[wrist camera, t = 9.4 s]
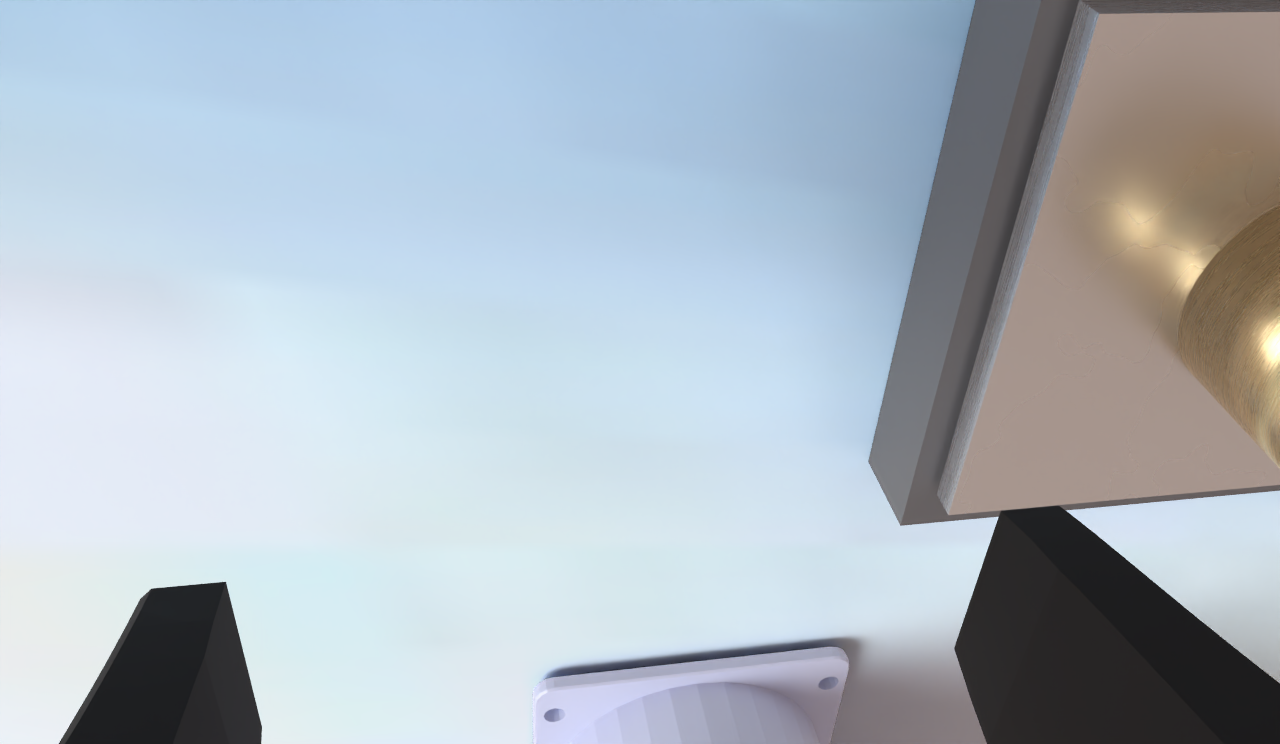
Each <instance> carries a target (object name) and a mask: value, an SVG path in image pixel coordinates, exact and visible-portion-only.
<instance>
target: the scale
mask: <svg viewBox="0 0 1280 744" xmlns="http://www.w3.org/2000/svg"><path fill="white" fill-rule="evenodd" d="M1078 3H1079V0H976V1H975V6H974V10H973V14H972V19H971V23H970V27H969V32H968V36H967V40H966V44H965V49H964V53H963V57H962V62H961V66H960V70H959V75H958V79H957V83H956V87H955V92H954V96H953V100H952V105H951V109H950V113H949V118H948V122H947V126H946V130H945V135H944V139H943V143H942V148H941V152H940V156H939V161H938V165H937V169H936V173H935V178H934V182H933V186H932V191H931V195H930V199H929V204H928V208H927V212H926V216H925V221H924V225H923V229H922V234H921V238H920V242H919V246H918V251H917V255H916V259H915V264H914V268H913V272H912V277H911V281H910V285H909V289H908V294H907V298H906V302H905V307H904V311H903V315H902V320H901V324H900V328H899V332H898V337H897V341H896V345H895V350H894V354H893V358H892V363H891V367H890V371H889V375H888V380H887V384H886V388H885V393H884V397H883V401H882V406H881V410H880V414H879V418H878V423H877V427H876V431H875V436H874V440H873V444H872V449H871V453H870V457H869V461H868V462H869V464H870V466H871V468H872V470H873V472H874V474H875V476H876V478H877V480H878V482H879V484H880V486H881V488H882V490H883V492H884V494H885V496H886V498H887V500H888V502H889V504H890V506H891V508H892V509H893V511H894V513H895V515H896V517H897V519H898V521H899V523H900V525H912V524H923V523H934V522H944V521H955V520H966V519H977V518H987V517H998V516H999V515H1000V512H1001V511H1004V510H1000V511H989V512H978V513H967V514H956V515H948V514H947V512H946V510H945V508H944V506H943V505H942V503H941V501H940V499H939V497H938V496H937V492H938V488H939V485H940V481H941V478H942V475H943V471H944V468H945V464H946V461H947V457H948V454H949V450H950V447H951V443H952V440H953V436H954V433H955V429H956V426H957V422H958V419H959V416H960V412H961V409H962V405H963V402H964V398H965V395H966V391H967V388H968V384H969V381H970V377H971V374H972V370H973V367H974V363H975V360H976V357H977V353H978V350H979V346H980V343H981V339H982V336H983V332H984V329H985V325H986V322H987V318H988V315H989V311H990V308H991V304H992V301H993V298H994V294H995V291H996V287H997V284H998V280H999V277H1000V273H1001V270H1002V266H1003V263H1004V259H1005V256H1006V252H1007V249H1008V245H1009V242H1010V239H1011V235H1012V232H1013V228H1014V225H1015V221H1016V218H1017V214H1018V211H1019V207H1020V204H1021V200H1022V197H1023V193H1024V190H1025V186H1026V183H1027V180H1028V176H1029V173H1030V169H1031V166H1032V162H1033V159H1034V155H1035V152H1036V148H1037V145H1038V141H1039V138H1040V134H1041V131H1042V128H1043V124H1044V121H1045V117H1046V114H1047V110H1048V107H1049V103H1050V100H1051V96H1052V93H1053V89H1054V86H1055V82H1056V79H1057V75H1058V72H1059V69H1060V65H1061V62H1062V58H1063V55H1064V51H1065V48H1066V44H1067V41H1068V37H1069V34H1070V30H1071V27H1072V23H1073V20H1074V16H1075V13H1076V10H1077V6H1078ZM1279 490H1280V485H1272V486H1261V487H1251V488H1240V489H1229V490H1218V491H1207V492H1196V493H1185V494H1174V495H1163V496H1152V497H1142V498H1131V499H1120V500H1109V501H1098V502H1087V503H1076V504H1065V505H1059V506H1060V507H1062V508H1063V509H1064V510H1074V509H1085V508H1095V507H1106V506H1117V505H1128V504H1139V503H1149V502H1160V501H1171V500H1182V499H1193V498H1203V497H1214V496H1225V495H1236V494H1247V493H1257V492H1268V491H1279ZM1054 506H1058V505H1054ZM1043 507H1047V506H1043ZM1032 508H1036V507H1032ZM1022 509H1026V508H1022ZM1011 510H1015V509H1011Z"/></svg>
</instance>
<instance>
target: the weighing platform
mask: <svg viewBox="0 0 1280 744" xmlns="http://www.w3.org/2000/svg"><path fill="white" fill-rule="evenodd" d="M1278 206H1280V0H1079V3H1078V6H1077V10H1076V13H1075V16H1074V20H1073V23H1072V27H1071V30H1070V34H1069V37H1068V41H1067V44H1066V48H1065V51H1064V55H1063V58H1062V62H1061V65H1060V69H1059V72H1058V75H1057V79H1056V82H1055V86H1054V89H1053V93H1052V96H1051V100H1050V103H1049V107H1048V110H1047V114H1046V117H1045V121H1044V124H1043V128H1042V131H1041V134H1040V138H1039V141H1038V145H1037V148H1036V152H1035V155H1034V159H1033V162H1032V166H1031V169H1030V173H1029V176H1028V180H1027V183H1026V186H1025V190H1024V193H1023V197H1022V200H1021V204H1020V207H1019V211H1018V214H1017V218H1016V221H1015V225H1014V228H1013V232H1012V235H1011V239H1010V242H1009V245H1008V249H1007V252H1006V256H1005V259H1004V263H1003V266H1002V270H1001V273H1000V277H999V280H998V284H997V287H996V291H995V294H994V298H993V301H992V304H991V308H990V311H989V315H988V318H987V322H986V325H985V329H984V332H983V336H982V339H981V343H980V346H979V350H978V353H977V357H976V360H975V363H974V367H973V370H972V374H971V377H970V381H969V384H968V388H967V391H966V395H965V398H964V402H963V405H962V409H961V412H960V416H959V419H958V422H957V426H956V429H955V433H954V436H953V440H952V443H951V447H950V450H949V454H948V457H947V461H946V464H945V468H944V471H943V475H942V478H941V481H940V485H939V488H938V492H937V496H938V497H939V499H940V501H941V503H942V505H943V506H944V508H945V510H946V512H947V514H948V515H956V514H967V513H978V512H989V511H1000V510H1011V509H1022V508H1032V507H1043V506H1054V505H1065V504H1076V503H1087V502H1098V501H1109V500H1120V499H1131V498H1142V497H1152V496H1163V495H1174V494H1185V493H1196V492H1207V491H1218V490H1229V489H1240V488H1251V487H1261V486H1272V485H1280V469H1279V468H1278V466H1277V465H1276V464H1275V463H1274V462H1273V461H1272V460H1271V459H1270V458H1269V457H1268V456H1267V455H1266V454H1265V452H1264V451H1263V450H1262V449H1261V448H1260V447H1259V446H1258V445H1257V444H1256V443H1255V442H1254V441H1253V440H1252V438H1251V437H1250V436H1249V435H1248V434H1247V433H1246V432H1245V431H1244V430H1243V429H1242V428H1241V427H1240V426H1239V424H1238V423H1237V422H1236V421H1235V420H1234V419H1233V418H1232V417H1231V416H1230V415H1229V414H1228V413H1227V412H1226V410H1225V409H1224V408H1223V407H1222V406H1221V405H1220V404H1219V403H1218V402H1217V401H1216V400H1215V399H1214V398H1213V396H1212V395H1211V394H1210V393H1209V392H1208V391H1207V390H1206V389H1205V388H1204V387H1203V386H1202V385H1201V384H1200V382H1199V381H1198V380H1197V379H1196V378H1195V377H1194V376H1193V375H1192V374H1191V373H1190V371H1189V370H1188V369H1187V367H1186V366H1185V364H1184V362H1183V360H1182V358H1181V355H1180V351H1179V347H1178V328H1179V321H1180V317H1181V313H1182V310H1183V307H1184V304H1185V302H1186V299H1187V297H1188V295H1189V293H1190V291H1191V289H1192V287H1193V286H1194V284H1195V282H1196V280H1197V279H1198V277H1199V276H1200V274H1201V273H1202V271H1203V270H1204V268H1205V267H1206V266H1207V265H1208V264H1209V262H1210V261H1211V260H1212V259H1213V257H1214V256H1215V255H1216V254H1217V253H1218V252H1219V251H1220V250H1221V249H1222V248H1223V247H1224V246H1225V245H1226V244H1227V243H1228V242H1229V241H1230V240H1231V239H1232V238H1233V237H1234V236H1236V235H1237V234H1238V233H1239V232H1240V231H1241V230H1242V229H1244V228H1245V227H1247V226H1248V225H1249V224H1251V223H1252V222H1253V221H1255V220H1256V219H1257V218H1259V217H1261V216H1262V215H1264V214H1265V213H1267V212H1269V211H1270V210H1272V209H1274V208H1276V207H1278Z"/></svg>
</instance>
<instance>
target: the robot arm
mask: <svg viewBox="0 0 1280 744" xmlns="http://www.w3.org/2000/svg"><path fill="white" fill-rule="evenodd" d="M954 649H955V652H956V655H957V658H958V661H959V664H960V667H961V670H962V673H963V676H964V679H965V682H966V685H967V688H968V692H969V695H970V698H971V701H972V703H973V706H974V709H975V712H976V714H977V717H978V720H979V723H980V725H981V728H982V731H983V734H984V736H985V739H986V742H987V744H1280V683H1278V682H1277V681H1276V680H1275V679H1273V678H1272V677H1271V676H1269V675H1268V674H1267V673H1266V672H1264V671H1263V670H1262V669H1260V668H1259V667H1258V666H1257V665H1255V664H1254V663H1253V662H1252V661H1250V660H1249V659H1248V658H1247V657H1245V656H1244V655H1243V654H1241V653H1240V652H1239V651H1238V650H1236V649H1235V648H1234V647H1233V646H1231V645H1230V644H1229V643H1228V642H1226V641H1225V640H1224V639H1223V638H1221V637H1220V636H1219V635H1218V634H1216V633H1215V632H1214V631H1213V630H1212V629H1210V628H1209V627H1208V626H1207V625H1205V624H1204V623H1203V622H1202V621H1200V620H1199V619H1198V618H1197V617H1195V616H1194V615H1193V614H1192V613H1191V612H1189V611H1188V610H1187V609H1186V608H1184V607H1183V606H1182V605H1181V604H1180V603H1178V602H1177V601H1176V600H1175V599H1174V598H1172V597H1171V596H1170V595H1169V594H1167V593H1166V592H1165V591H1164V590H1163V589H1161V588H1160V587H1159V586H1158V585H1157V584H1155V583H1154V582H1153V581H1152V580H1150V579H1149V578H1148V577H1147V576H1146V575H1144V574H1143V573H1142V572H1141V571H1140V570H1138V569H1137V568H1136V567H1135V566H1134V565H1132V564H1131V563H1130V562H1129V561H1127V560H1126V559H1125V558H1124V557H1123V556H1121V555H1120V554H1119V553H1118V552H1117V551H1115V550H1114V549H1113V548H1112V547H1110V546H1109V545H1108V544H1107V543H1106V542H1104V541H1103V540H1102V539H1101V538H1099V537H1098V536H1097V535H1096V534H1095V533H1093V532H1092V531H1091V530H1090V529H1088V528H1087V527H1086V526H1085V525H1083V524H1082V523H1081V522H1080V521H1078V520H1077V519H1076V518H1074V517H1073V516H1072V515H1071V514H1069V513H1068V512H1067V511H1065V510H1064V509H1063V508H1062V507H1060V506H1059V505H1058V506H1047V507H1036V508H1026V509H1015V510H1004V511H1001V512H1000V515H999V518H998V521H997V524H996V527H995V530H994V533H993V536H992V539H991V542H990V544H989V547H988V550H987V553H986V556H985V559H984V562H983V565H982V568H981V571H980V574H979V577H978V580H977V583H976V586H975V589H974V592H973V595H972V598H971V600H970V603H969V606H968V609H967V612H966V615H965V618H964V621H963V624H962V627H961V630H960V633H959V636H958V639H957V642H956V645H955V648H954ZM849 668H850V663H849V660H848V657H847V655H846V653H845V651H844V650H843V649H841V648H838V647H821V648H812V649H803V650H794V651H785V652H776V653H767V654H758V655H749V656H740V657H731V658H722V659H713V660H704V661H695V662H686V663H677V664H668V665H659V666H650V667H641V668H632V669H623V670H614V671H605V672H596V673H587V674H578V675H569V676H560V677H552V678H548V679H545V680H543V681H541V682H539V683H538V684H537V685H536V686H535V687H534V690H533V744H830V742H831V738H832V734H833V730H834V726H835V722H836V718H837V714H838V710H839V707H840V703H841V699H842V695H843V691H844V687H845V683H846V679H847V675H848V672H849ZM261 733H262V726H261V722H260V718H259V714H258V710H257V706H256V702H255V698H254V693H253V689H252V685H251V681H250V677H249V673H248V669H247V665H246V661H245V657H244V653H243V649H242V645H241V641H240V637H239V633H238V629H237V625H236V621H235V617H234V613H233V609H232V605H231V601H230V597H229V593H228V589H227V585H226V582H219V583H208V584H198V585H187V586H176V587H165V588H154V589H151V590H150V591H149V592H148V593H146V594H145V595H144V596H143V597H142V598H141V599H140V601H139V603H138V605H137V606H136V608H135V610H134V612H133V614H132V616H131V618H130V620H129V622H128V624H127V626H126V627H125V629H124V631H123V633H122V635H121V637H120V639H119V640H118V642H117V644H116V646H115V648H114V650H113V651H112V653H111V655H110V657H109V659H108V660H107V662H106V664H105V666H104V668H103V669H102V671H101V673H100V675H99V676H98V678H97V680H96V682H95V683H94V685H93V687H92V689H91V690H90V692H89V694H88V696H87V697H86V699H85V701H84V702H83V704H82V706H81V707H80V709H79V711H78V712H77V714H76V716H75V717H74V719H73V721H72V722H71V724H70V726H69V728H68V729H67V731H66V733H65V734H64V736H63V738H62V739H61V741H60V743H59V744H261Z"/></svg>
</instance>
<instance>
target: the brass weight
mask: <svg viewBox="0 0 1280 744" xmlns="http://www.w3.org/2000/svg"><path fill="white" fill-rule="evenodd" d="M1178 347H1179V351H1180V355H1181V358H1182V360H1183V362H1184V364H1185V366H1186V367H1187V369H1188V370H1189V371H1190V373H1191V374H1192V375H1193V376H1194V377H1195V378H1196V379H1197V380H1198V381H1199V382H1200V384H1201V385H1202V386H1203V387H1204V388H1205V389H1206V390H1207V391H1208V392H1209V393H1210V394H1211V395H1212V396H1213V398H1214V399H1215V400H1216V401H1217V402H1218V403H1219V404H1220V405H1221V406H1222V407H1223V408H1224V409H1225V410H1226V412H1227V413H1228V414H1229V415H1230V416H1231V417H1232V418H1233V419H1234V420H1235V421H1236V422H1237V423H1238V424H1239V426H1240V427H1241V428H1242V429H1243V430H1244V431H1245V432H1246V433H1247V434H1248V435H1249V436H1250V437H1251V438H1252V440H1253V441H1254V442H1255V443H1256V444H1257V445H1258V446H1259V447H1260V448H1261V449H1262V450H1263V451H1264V452H1265V454H1266V455H1267V456H1268V457H1269V458H1270V459H1271V460H1272V461H1273V462H1274V463H1275V464H1276V465H1277V466H1278V468H1279V469H1280V206H1278V207H1276V208H1274V209H1272V210H1270V211H1269V212H1267V213H1265V214H1264V215H1262V216H1261V217H1259V218H1257V219H1256V220H1255V221H1253V222H1252V223H1251V224H1249V225H1248V226H1247V227H1245V228H1244V229H1242V230H1241V231H1240V232H1239V233H1238V234H1237V235H1236V236H1234V237H1233V238H1232V239H1231V240H1230V241H1229V242H1228V243H1227V244H1226V245H1225V246H1224V247H1223V248H1222V249H1221V250H1220V251H1219V252H1218V253H1217V254H1216V255H1215V256H1214V257H1213V259H1212V260H1211V261H1210V262H1209V264H1208V265H1207V266H1206V267H1205V268H1204V270H1203V271H1202V273H1201V274H1200V276H1199V277H1198V279H1197V280H1196V282H1195V284H1194V286H1193V287H1192V289H1191V291H1190V293H1189V295H1188V297H1187V299H1186V302H1185V304H1184V307H1183V310H1182V313H1181V317H1180V321H1179V328H1178Z"/></svg>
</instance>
